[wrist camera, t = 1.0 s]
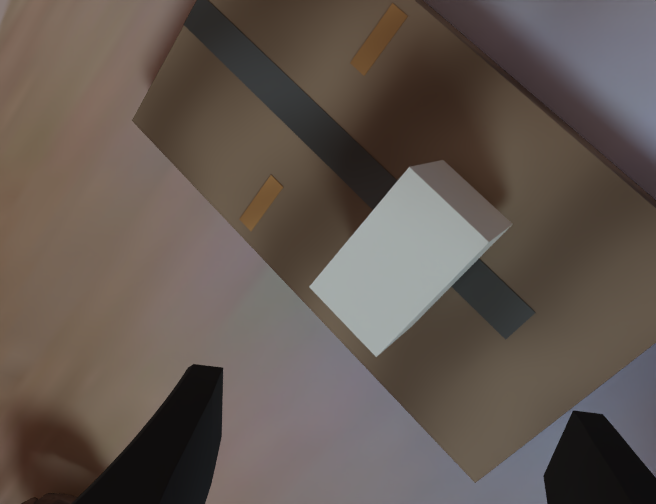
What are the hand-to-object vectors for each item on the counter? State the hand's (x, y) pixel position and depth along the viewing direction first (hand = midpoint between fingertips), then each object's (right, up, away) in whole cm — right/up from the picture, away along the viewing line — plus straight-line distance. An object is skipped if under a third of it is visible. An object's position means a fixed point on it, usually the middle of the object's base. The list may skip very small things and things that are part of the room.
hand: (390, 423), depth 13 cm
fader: (+2, +4, +8) cm, 9 cm away
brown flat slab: (+1, +6, +11) cm, 13 cm away
